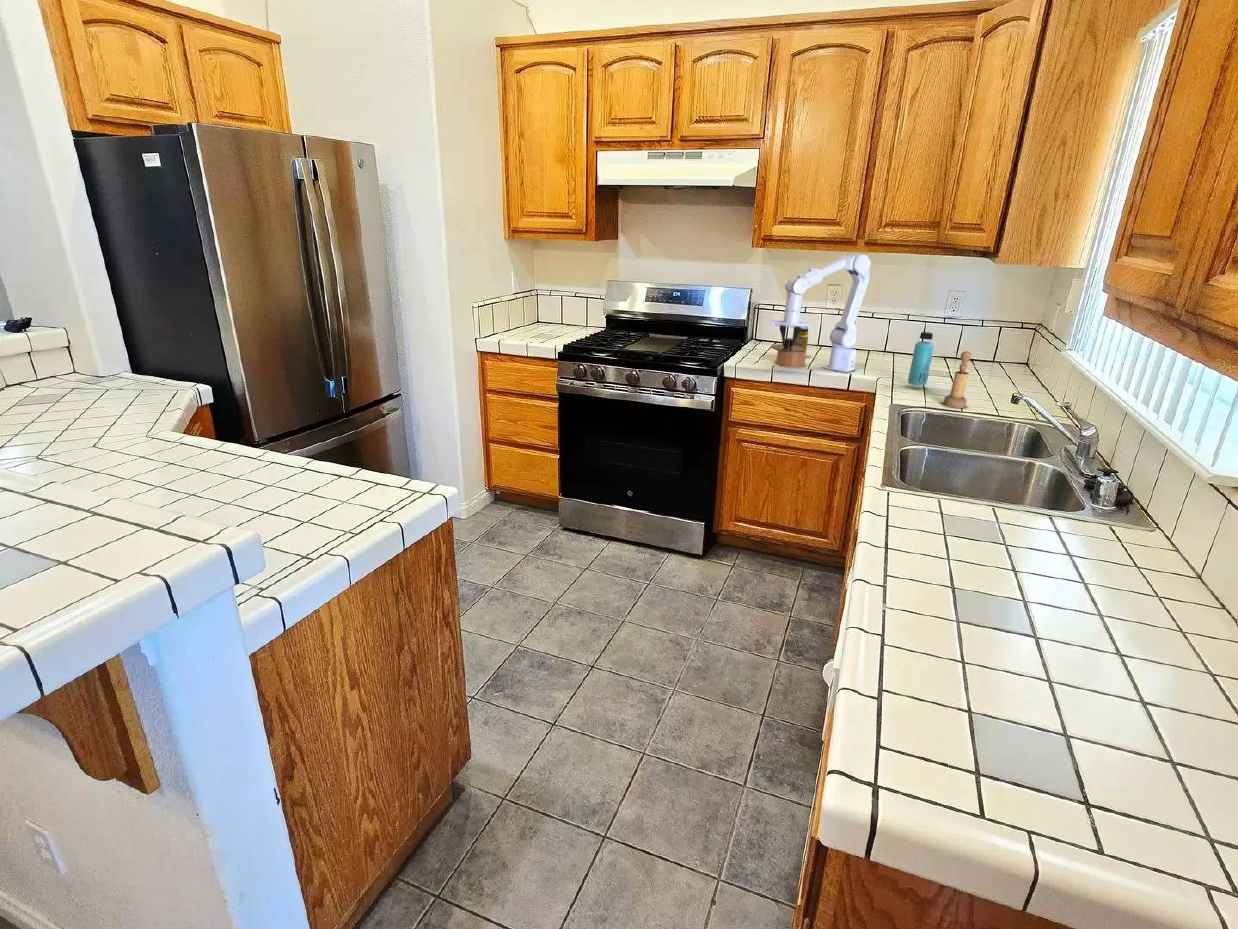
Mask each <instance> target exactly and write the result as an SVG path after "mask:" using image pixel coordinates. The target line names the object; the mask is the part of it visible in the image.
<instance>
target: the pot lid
mask: <svg viewBox="0 0 1238 929" xmlns="http://www.w3.org/2000/svg"><path fill="white" fill-rule="evenodd" d="M791 343H792V337H785V345H784V346H783V343H779V344H772V345H771V349H772V350H775V351H777V350H778V351H781V352H791V353H793V352H800V351H803V350H804V348H802V347H799V346H795V345H793V347H791Z"/></svg>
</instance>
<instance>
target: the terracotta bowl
mask: <svg viewBox="0 0 1238 929" xmlns="http://www.w3.org/2000/svg"><path fill="white" fill-rule="evenodd" d="M776 351H777V352H776V359H775V363H776V364H777V365H779V366H783V367H789V368H800V367H801V368H802V367H804V366H805V363H806V358H807V357H806V356H807V349H806V350H805V349H804V350H803V351H800V352H793V353H791V352H781V351H778V350H776Z"/></svg>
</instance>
